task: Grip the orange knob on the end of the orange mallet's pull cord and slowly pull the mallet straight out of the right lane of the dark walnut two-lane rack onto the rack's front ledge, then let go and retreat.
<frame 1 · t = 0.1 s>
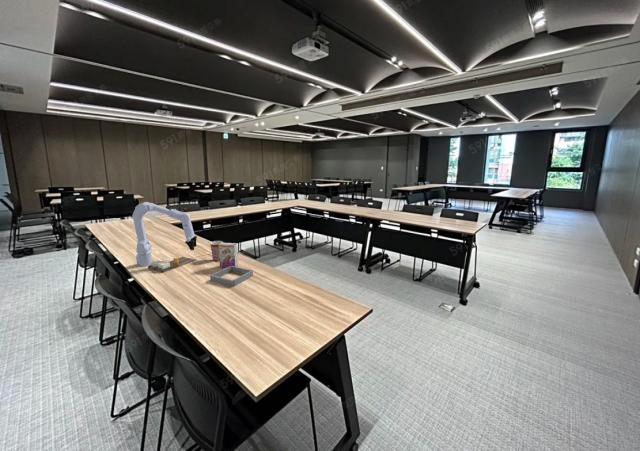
hand: (193, 248, 193), 10 cm above the table, tool pointing down, fingers open, 7 cm apart
lane rack: (174, 265, 188), on the table
orange mallet: (164, 269, 178), point 1 cm above the table, touching lane rack
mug: (220, 259, 201), on the table
candy bar box: (229, 266, 187), on the table
grey block: (157, 267, 181), point 1 cm above the table, touching lane rack
desk tray rim: (232, 278, 168), on the table
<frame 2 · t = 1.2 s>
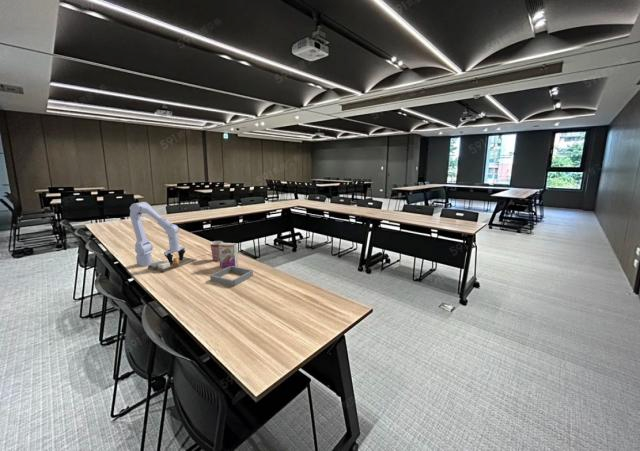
hand: (176, 262, 185), 3 cm above the table, tool pointing down, fingers open, 7 cm apart
nothing on the table moved.
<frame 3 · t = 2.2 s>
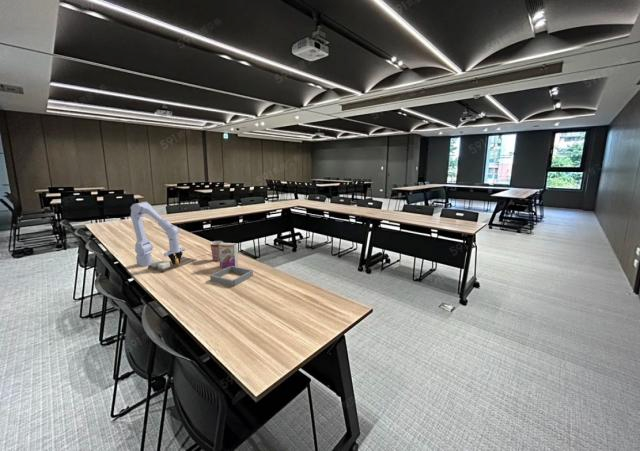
hand: (176, 263, 186), 2 cm above the table, tool pointing down, fingers closed on orange mallet, 3 cm apart
orange mallet: (164, 269, 178), point 1 cm above the table, touching gripper, lane rack
everything else where it was.
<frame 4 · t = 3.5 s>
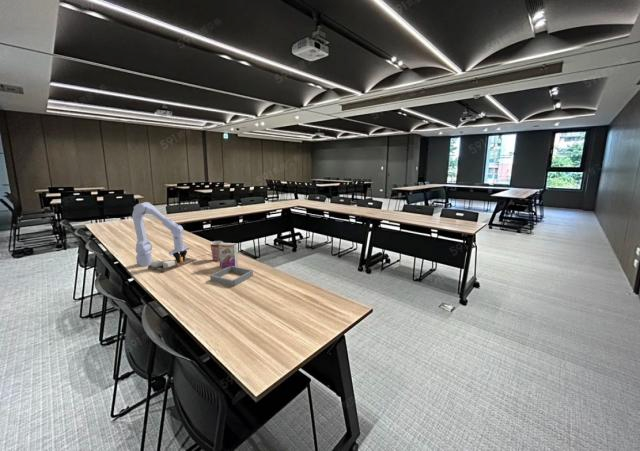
hand: (180, 261, 189), 2 cm above the table, tool pointing down, fingers closed on orange mallet, 3 cm apart
orange mallet: (169, 267, 181), point 1 cm above the table, touching gripper
everything else where it was.
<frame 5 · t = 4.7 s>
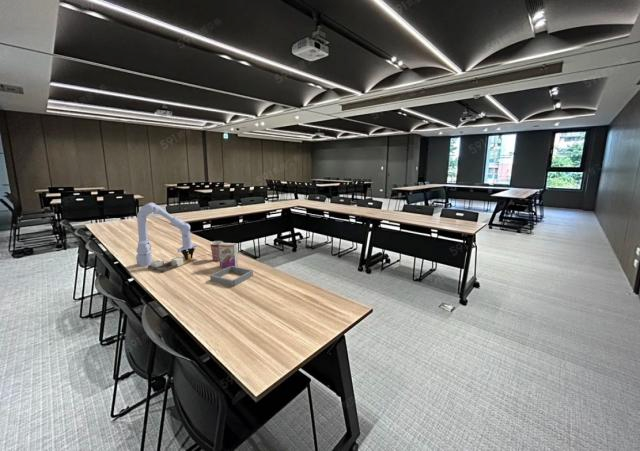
hand: (188, 258, 194), 2 cm above the table, tool pointing down, fingers closed on orange mallet, 3 cm apart
orange mallet: (177, 264, 187), point 1 cm above the table, touching gripper, lane rack
everything else where it was.
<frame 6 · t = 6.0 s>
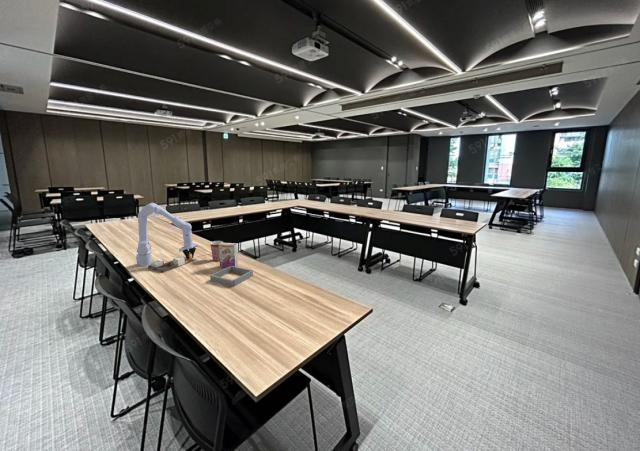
hand: (189, 258, 195), 2 cm above the table, tool pointing down, fingers closed on orange mallet, 3 cm apart
orange mallet: (179, 264, 188), point 1 cm above the table, touching gripper, lane rack
everything else where it was.
when the fingers open (2 cm above the table, at t = 6.2 s): orange mallet stays where it is, resting on lane rack.
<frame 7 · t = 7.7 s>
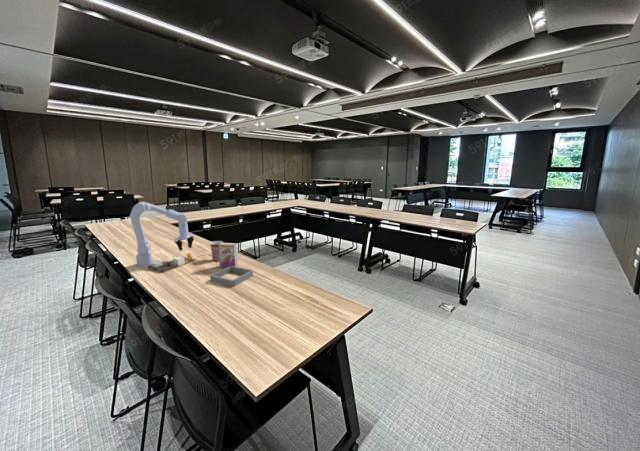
hand: (185, 249, 195), 9 cm above the table, tool pointing down, fingers open, 7 cm apart
orange mallet: (179, 264, 188), point 1 cm above the table, touching lane rack
everything else where it was.
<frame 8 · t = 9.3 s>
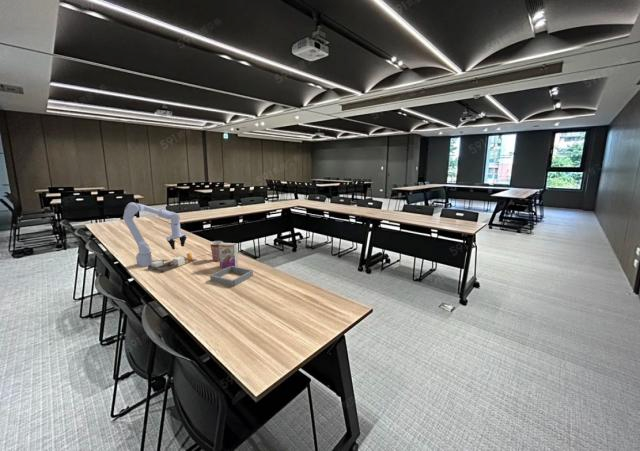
hand: (178, 247, 197), 9 cm above the table, tool pointing down, fingers open, 7 cm apart
nothing on the table moved.
at the end: orange mallet 1.1 cm from the target spot, point 1.0 cm above the table; orange mallet tilted 0°; grey block moved 0.0 cm from its start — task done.
